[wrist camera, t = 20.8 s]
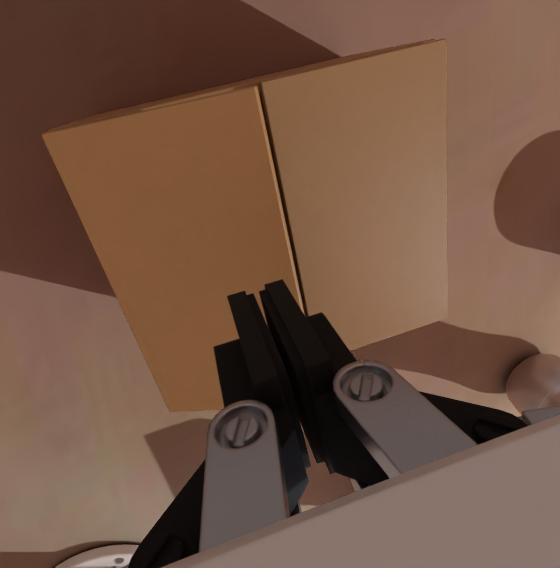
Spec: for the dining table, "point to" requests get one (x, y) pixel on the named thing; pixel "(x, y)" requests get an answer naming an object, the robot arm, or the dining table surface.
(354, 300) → the carton
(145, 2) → the dining table surface
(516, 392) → the silver metal bottle
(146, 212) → the flap
